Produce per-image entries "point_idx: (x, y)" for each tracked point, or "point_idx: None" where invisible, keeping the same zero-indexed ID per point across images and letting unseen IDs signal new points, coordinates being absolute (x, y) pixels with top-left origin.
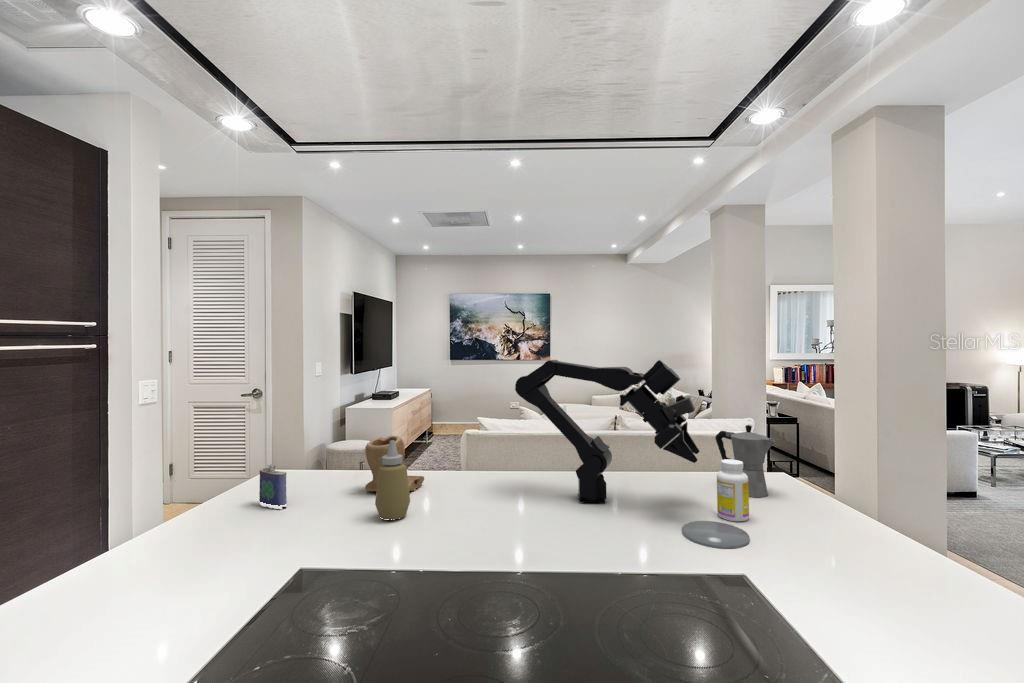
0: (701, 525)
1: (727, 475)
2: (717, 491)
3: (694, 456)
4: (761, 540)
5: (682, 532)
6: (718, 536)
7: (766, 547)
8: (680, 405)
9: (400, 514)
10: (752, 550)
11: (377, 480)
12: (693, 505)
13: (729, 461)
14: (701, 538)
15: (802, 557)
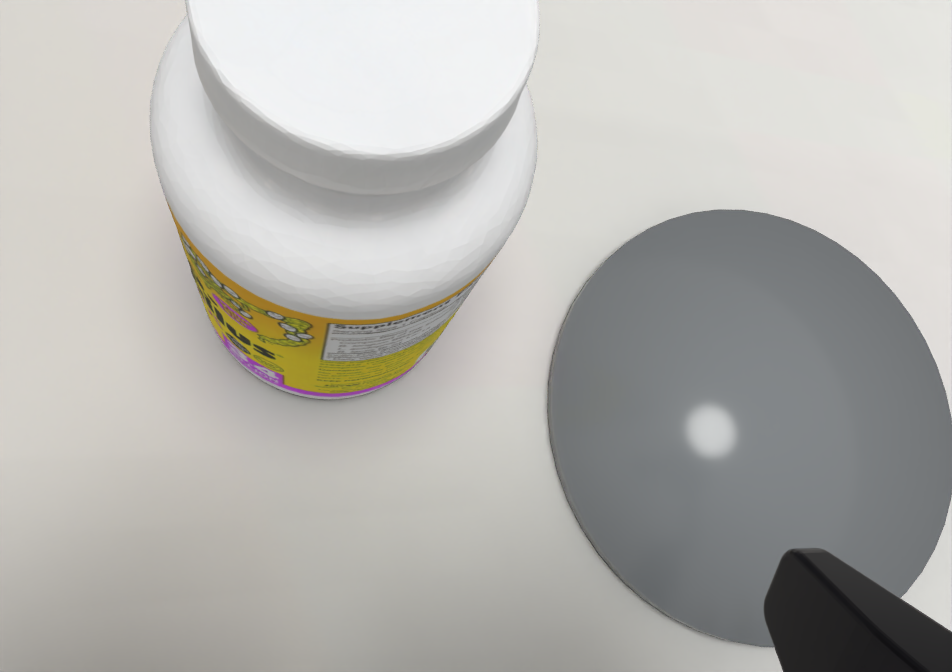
0: (680, 510)
1: (513, 166)
2: (383, 352)
3: (911, 607)
4: (696, 153)
5: None
6: (819, 390)
7: (784, 142)
8: None
9: None
10: (861, 217)
11: None
12: (110, 631)
13: (377, 28)
14: (903, 494)
15: (821, 2)
